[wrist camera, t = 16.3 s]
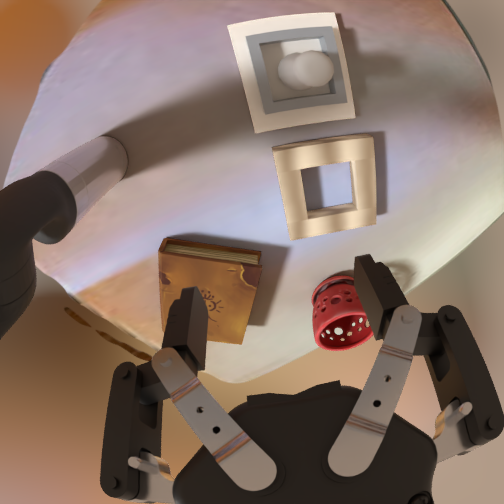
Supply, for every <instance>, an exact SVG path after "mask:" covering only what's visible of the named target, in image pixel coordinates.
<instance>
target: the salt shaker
mask: <svg viewBox="0 0 504 504" xmlns="http://www.w3.org/2000/svg"><path fill="white" fill-rule="evenodd" d="M278 73H279V78H280V79H281V81H282V82H283V84H284V85H286V86H288V87H289V88H291V89H293V90H300V91H302V90H306V89H310V88H311V87H312V86H313V87H318V86H323V85H325V84H326V83H327V82H329V81H330V80H331V79H332V76H333V74H334V66H333V63H332V61H331V60H330V58H329V57H328V56H327V55H325V54H324V53H322V52H318V51H314V50H310V51H306V52H303V53H298V52H296V53H292V54H288V55H287V56H285V57H284V58H283V59H282V60H281V61H280V64H279V67H278Z"/></svg>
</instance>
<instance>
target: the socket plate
mask: <svg viewBox="0 0 504 504" xmlns="http://www.w3.org/2000/svg"><path fill="white" fill-rule="evenodd" d="M227 27H228V30H229V34H230V37H231V41H232V45H233V48H234V52H235V56H236V59H237V63H238V67H239V71H240V75H241V78H242V82H243V86H244V90H245V94H246V98H247V102H248V106H249V110H250V114H251V118H252V122H253V126H254V130H255V134H256V133H261V132H266V131H271V130H276V129H281V128H287V127H293V126H299V125H305V124H312V123H319V122H326V121H334V120H343V119H352V118H355V110H354V103H353V97H352V90H351V84H350V79H349V73H348V68H347V63H346V58H345V53H344V49H343V44H342V40H341V36H340V32H339V28H338V24H337V20H336V17H335V13H308V14H295V15H286V16H277V17H270V18H263V19H257V20H252V21H246V22H241V23H236V24H232V25H227ZM310 50H314V51H318V52H322V53H324V54H325V55H327V56H328V57H329V58H330V60H331V61H332V63H333V66H334V74H333V76H332V79H331V80H330V81H329V82H327V83H326V84H325V85H323V86H318V87H313V86H312V87H311V88H310V89H306V90H302V91H300V90H293V89H291V88H289V87H288V86H286V85H284V84H283V82H282V81H281V79H280V78H279V73H278V67H279V64H280V61H281V60H282V59H283V58H284V57H285V56H287V55H288V54H292V53H296V52H298V53H303V52H306V51H310Z"/></svg>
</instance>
